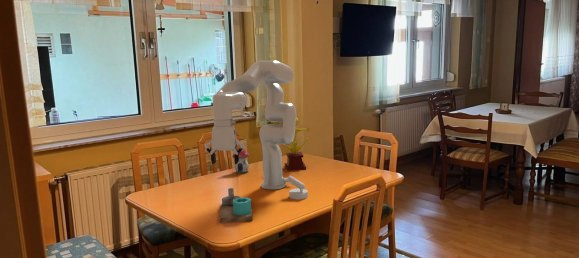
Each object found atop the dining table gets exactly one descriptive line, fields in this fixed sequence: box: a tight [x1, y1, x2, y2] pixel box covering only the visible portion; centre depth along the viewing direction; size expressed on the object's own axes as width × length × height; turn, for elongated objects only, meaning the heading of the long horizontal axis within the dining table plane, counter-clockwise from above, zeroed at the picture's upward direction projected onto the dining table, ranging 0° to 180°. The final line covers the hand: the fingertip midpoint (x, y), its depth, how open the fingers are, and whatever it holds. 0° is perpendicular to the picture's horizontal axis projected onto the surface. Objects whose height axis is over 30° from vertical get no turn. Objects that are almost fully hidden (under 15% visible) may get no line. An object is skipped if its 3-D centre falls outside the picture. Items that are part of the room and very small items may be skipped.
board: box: [219, 187, 254, 224], centre depth 191 cm, size 13×23×8 cm, turn 6°
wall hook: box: [286, 175, 309, 200], centre depth 208 cm, size 9×10×10 cm
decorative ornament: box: [232, 147, 250, 175], centre depth 254 cm, size 9×6×15 cm
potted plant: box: [284, 116, 310, 172], centre depth 258 cm, size 14×16×30 cm
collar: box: [233, 196, 252, 215], centre depth 185 cm, size 7×7×5 cm
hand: (225, 163), depth 189 cm, fingers open, 9 cm apart
